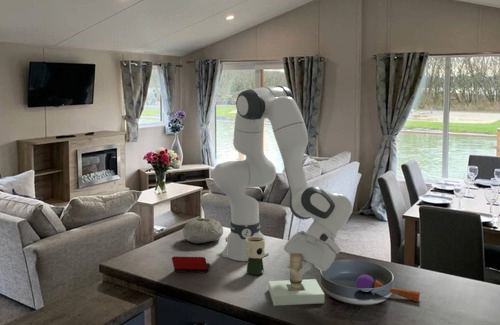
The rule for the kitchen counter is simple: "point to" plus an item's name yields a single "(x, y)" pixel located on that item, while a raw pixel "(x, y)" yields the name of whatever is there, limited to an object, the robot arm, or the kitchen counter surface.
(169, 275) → the kitchen counter surface
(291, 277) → the beech peg
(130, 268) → the kitchen counter surface
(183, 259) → the handheld game console
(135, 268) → the kitchen counter surface
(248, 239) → the character mug
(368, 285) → the purple and orange maraca
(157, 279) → the kitchen counter surface
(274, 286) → the sage board
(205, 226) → the decorative shell
